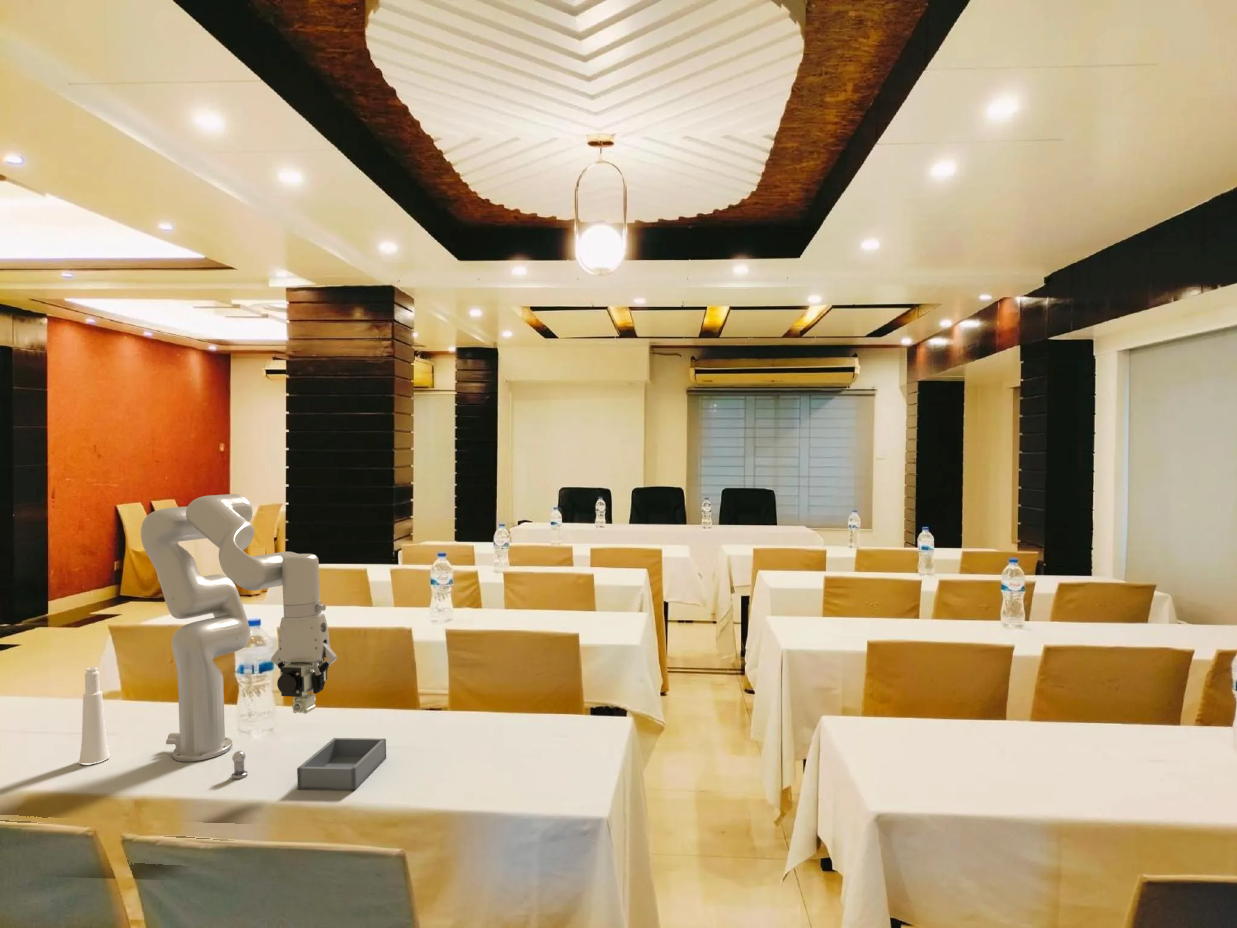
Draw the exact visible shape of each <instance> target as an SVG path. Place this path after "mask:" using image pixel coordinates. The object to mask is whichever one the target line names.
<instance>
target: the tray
mask: <svg viewBox="0 0 1237 928" xmlns="http://www.w3.org/2000/svg"><path fill="white" fill-rule="evenodd" d="M386 759H387V739H386V738H374V737H373V738H372V737H371V738H366V737H362V738H361V737H359V738H358V737H357V738H356V737H355V738H354V737H333V738H332V739H330V741H329V742H327V743H326V744H324V746H322V747H321V748H320V749H319V750H318V751H316V752H315V753H314V754H312V755H311V756H310V757H309V758H308V759H307V760H305V761H304V762H303V763H302V764H301V765H300V766H298V767H297V769H296V770H297V771H296V773H297V774H296V775H297V790H298V791H300V790H301V791H302V790H303V791H340V792H341V791H344V792H345V791H346V792H348V791H350V792H355V791H356V790H357V789H358V788H359V787H360V786H362V784H363V783H364V782H365V781H366V780H368V779H369V777H370V776H371V774H373V773H374V771H376V769H377V768H379V766H380V765H382V763H383V762H385V760H386Z"/></svg>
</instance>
